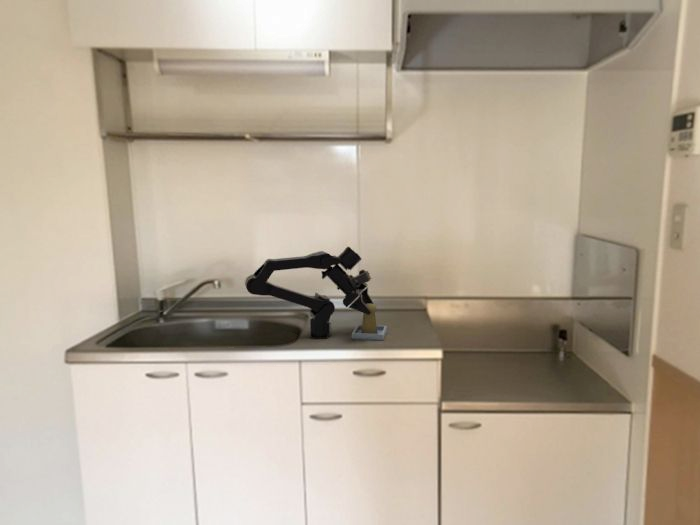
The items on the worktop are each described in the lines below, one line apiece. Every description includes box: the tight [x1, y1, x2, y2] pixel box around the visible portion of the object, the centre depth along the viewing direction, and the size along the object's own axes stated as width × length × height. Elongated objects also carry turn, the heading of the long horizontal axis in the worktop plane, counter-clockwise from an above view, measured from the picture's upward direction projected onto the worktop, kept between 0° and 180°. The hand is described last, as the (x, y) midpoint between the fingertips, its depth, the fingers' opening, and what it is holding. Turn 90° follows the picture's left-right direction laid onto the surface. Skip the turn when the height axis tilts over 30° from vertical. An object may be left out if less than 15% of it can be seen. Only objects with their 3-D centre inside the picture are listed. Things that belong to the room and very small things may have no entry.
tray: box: [351, 324, 388, 342], centre depth 166 cm, size 11×11×2 cm
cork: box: [361, 303, 378, 334], centre depth 166 cm, size 6×6×11 cm
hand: (372, 310), depth 165 cm, fingers open, 9 cm apart
